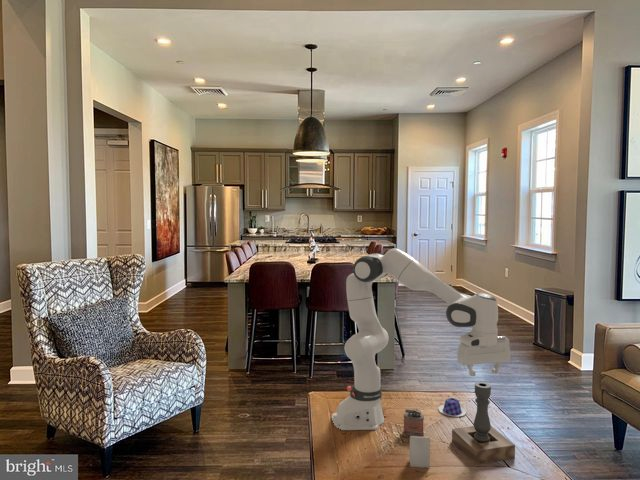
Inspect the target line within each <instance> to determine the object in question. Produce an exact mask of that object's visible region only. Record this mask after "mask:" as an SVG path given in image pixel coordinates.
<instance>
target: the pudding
mask: <svg viewBox="0 0 640 480" xmlns="http://www.w3.org/2000/svg"><path fill="white" fill-rule="evenodd" d="M442 409H443V410H442ZM438 411H439V412H440V413H441V414H442V415H444V416H445V415H446V416H448V417H449V416H450V417H457V418H458V417H463V416H465V415H466V414H467V409H465V408H464V407H462V406H461V403H460V401H459V400H458V399H456V398H454V397H449V398H446V399H445V401H444V404H442V405H439V406H438Z"/></svg>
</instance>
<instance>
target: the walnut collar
mask: <svg viewBox="0 0 640 480" xmlns="http://www.w3.org/2000/svg"><path fill="white" fill-rule="evenodd" d="M475 433H476V430H475V428H474V425H471V426H465V427H463V426H462V427H455V428H452V429H451V434H452V435H451V441H452V443H453V444H454V445H455V446H456V447H457V448H458V449H459V450H460V451H461V452H462V453H463V454H464V455H465V456H466V457H467V458H468V459H469V460H470V461H471V462H472V463H473V464H474V465H480V464H481V465H482V464H488V463H493V462H500V461H505V460H507V461H508V460H513V459H515V458H516V444H515V443H513V442H512V441H511V440H509V438H507V437H506V436H504V435H503V434H502V433H501V432H500V431H498V430H497V429H496V428H495V427H493V426H492V425H491V429H490V431H489V432H488V436H489V437H490V442H487V443H480V444H479V443H478V442H477V441H476V440H475V439H474V434H475Z"/></svg>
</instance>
